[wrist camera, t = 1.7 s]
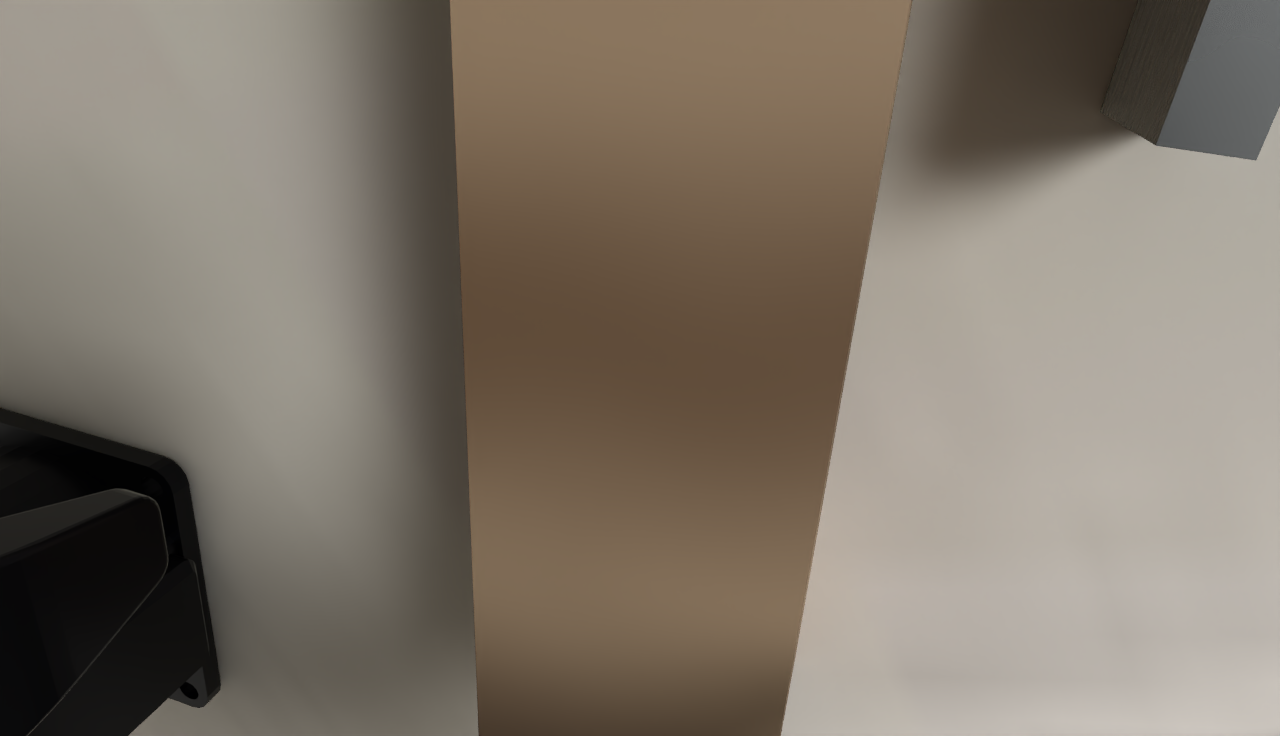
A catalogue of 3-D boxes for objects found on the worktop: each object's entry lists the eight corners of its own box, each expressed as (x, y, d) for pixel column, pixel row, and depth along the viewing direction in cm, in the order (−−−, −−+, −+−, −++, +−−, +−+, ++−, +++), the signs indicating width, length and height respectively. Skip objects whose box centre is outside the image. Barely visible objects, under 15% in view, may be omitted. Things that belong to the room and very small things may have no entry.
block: (796, 651, 14) (757, 863, 11) (580, 595, 15) (480, 773, 12) (983, -398, 8) (1030, -682, 5) (609, -379, 9) (426, -605, 6)
